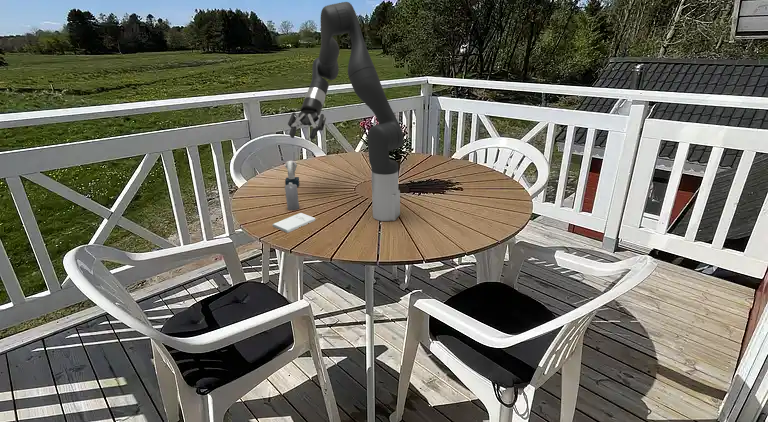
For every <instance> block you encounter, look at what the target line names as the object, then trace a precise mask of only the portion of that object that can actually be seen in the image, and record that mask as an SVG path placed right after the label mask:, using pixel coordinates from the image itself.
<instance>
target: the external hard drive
mask: <svg viewBox="0 0 768 422" xmlns="http://www.w3.org/2000/svg"><path fill="white" fill-rule="evenodd" d="M315 221H316V218H315V217H313V216H311V215H308V214H305V213H303V212H299V213H297V214H294V215H291V216H288V217H286V218H284V219H282V220H280V221H277V222H274V223H272V227H273V228H276V229H277V230H280V231H282V232H285V233H287V234H289V233H291V232H293V231H295V230H297V229H299V227H300V228H302V227H304V226H306V225H309V224H310V223H313V222H315ZM308 223H309V224H308ZM301 226H302V227H301Z"/></svg>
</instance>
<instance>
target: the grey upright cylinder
mask: <svg viewBox="0 0 768 422" xmlns="http://www.w3.org/2000/svg"><path fill="white" fill-rule="evenodd" d="M284 191H285V198H286V207H287V211H288V210H289V211H298V210H299V209H300V203H299V194H298V193H299V192H298V187H297V185H296V184H292V183H289V184H288V185H286V184H285V185H284Z"/></svg>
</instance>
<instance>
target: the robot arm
mask: <svg viewBox="0 0 768 422" xmlns="http://www.w3.org/2000/svg"><path fill="white" fill-rule="evenodd" d="M359 23H360V22H359V20H358V17H357V13H356V11H355V8H354V6H353V5H352V4H351V2H350V1H349V2H348V1H342V2H337V3H333V4H328V5H325V6H323V7H322V9H321V12H320V40H321V41H320V44H321V45H320V50H319V54H318V57H316V58H315V59H314V60H313V62H312V76H311V82H310V85H309V87H308V90H307V92H306V93H305V96H304V99H303V103H302V105H301V108H300V112H299V113H296V112H295V111H293V112H292V113H291V116H290V118H289V120H288V122H287V125H288V126H289V128H290V131H289V133H288V134H289V137H290V138H291V139H294V138H295V136H296V134H297V130H298V129H299V128H302V127H303V126H308V127H311V126H312V129H311V131H310V134H309V138H310V140H313V141H314V139H316V136H317V133H318V132H319V131H321V132H322V131H323V130H324V127H325V124H326V120H327V117H326V116H325V115H324V114H323V113H322V109H323V107H324V104H325V101H326V100H325V99H326V96H327V93H328V91H329V87H330V86H329V85H330V84H329V82H328V81H335V79H337V77H338V76H339V71H340V70H339V69H340V68H339V62H338V58H339V56H340V47H339V43H338V41H336V39H335V38H334V37H333V36H340V35H344V34H348V35H349V37H350V38H349V39H350V42H351V49H350V50H351V51H350V56H349V60H348V65H347V76H348V78H349V81H350V84H351V86H352V89H353V92H354V93H355V95H356V96H357V97H358V99H360V100H361V101H362V102H363V103H364V104H365V106H367V107H368V108H369V109H370V110H371V112H373V114H374V116H375V118H376V119H377V122H378V124H376V125H373V126H371V127H370V128H369V130H368V132H367V148H368V149H367V150H368V161H369V164H370V167H371V195H372V197H371V199H372V205H371V206H372V217H373V219H374V220H377V221H381V222H389V221H396V220H397V219H398V217H399V216H400V214H401V190H400V189H399V162H397V161H396V160H394V159H390V153H389V152H390V151H394V150H397V149H399V148H400V147H402V145H403V143H404V133H403V130H402V127H401V125H400V123H399V121H398V119H397V117H396V115H395V113H394V111H393V109H392V108H391V105H390V103H389V100H388V98H387V96H386V93H385V91H384V88H383V85H382V84H381V80H380V77H379V75H378V73H377V70H376V67H375V65H374V63H373V62H374V61H373V60H372V58H371V55H370V53H369V50H368V47H367V45H366V42H365V38H364V37H363V32H362V30H361V29H362V28H361V26H360V24H359ZM317 121H318V124H317V123H316V122H317Z"/></svg>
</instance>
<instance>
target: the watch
mask: <svg viewBox="0 0 768 422" xmlns="http://www.w3.org/2000/svg"><path fill="white" fill-rule="evenodd" d="M297 166H298V164H297V162H296V161H294V160H288V161H286V162H285V165H284V168H286V170H287V177H286V178H285V180H284V182H285V186H286V185H288V184H289V183H292V184H296V185H297V188H299V187H300V177H299V176H296V171H297V168H298V167H297Z"/></svg>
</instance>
